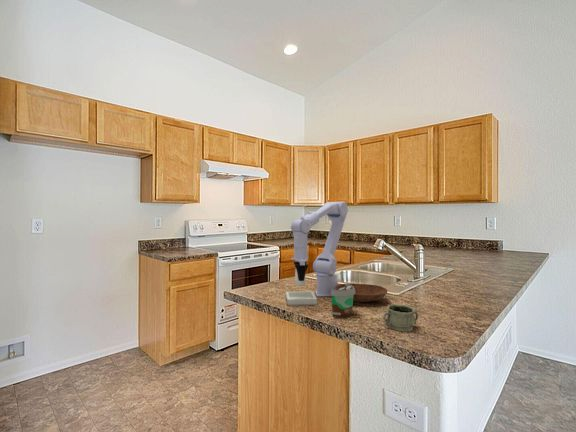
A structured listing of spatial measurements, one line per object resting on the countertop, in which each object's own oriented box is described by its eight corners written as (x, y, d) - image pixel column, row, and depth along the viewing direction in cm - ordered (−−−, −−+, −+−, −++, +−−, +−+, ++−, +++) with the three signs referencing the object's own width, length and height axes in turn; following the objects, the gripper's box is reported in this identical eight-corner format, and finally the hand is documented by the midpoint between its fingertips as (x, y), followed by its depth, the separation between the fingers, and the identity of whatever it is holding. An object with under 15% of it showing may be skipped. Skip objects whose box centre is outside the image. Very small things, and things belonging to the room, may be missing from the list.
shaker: (305, 283, 131) (305, 267, 131) (305, 285, 127) (305, 269, 127) (295, 283, 131) (295, 267, 131) (295, 285, 127) (295, 269, 127)
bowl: (390, 308, 119) (390, 296, 119) (333, 305, 123) (333, 293, 123) (384, 295, 138) (384, 284, 138) (336, 292, 142) (336, 282, 142)
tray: (312, 296, 135) (312, 291, 135) (316, 305, 123) (316, 298, 123) (285, 297, 135) (285, 291, 135) (287, 305, 123) (287, 299, 123)
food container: (346, 321, 105) (346, 292, 105) (330, 317, 109) (330, 289, 109) (360, 311, 115) (360, 285, 115) (346, 308, 119) (346, 283, 119)
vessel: (411, 321, 105) (411, 303, 105) (425, 331, 96) (425, 311, 96) (377, 323, 103) (377, 304, 103) (389, 333, 95) (389, 313, 95)
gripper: (290, 245, 136) (290, 276, 136) (292, 249, 121) (292, 283, 121) (305, 245, 136) (305, 275, 136) (310, 249, 122) (310, 283, 122)
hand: (300, 279), depth 129 cm, fingers closed on shaker, 4 cm apart
